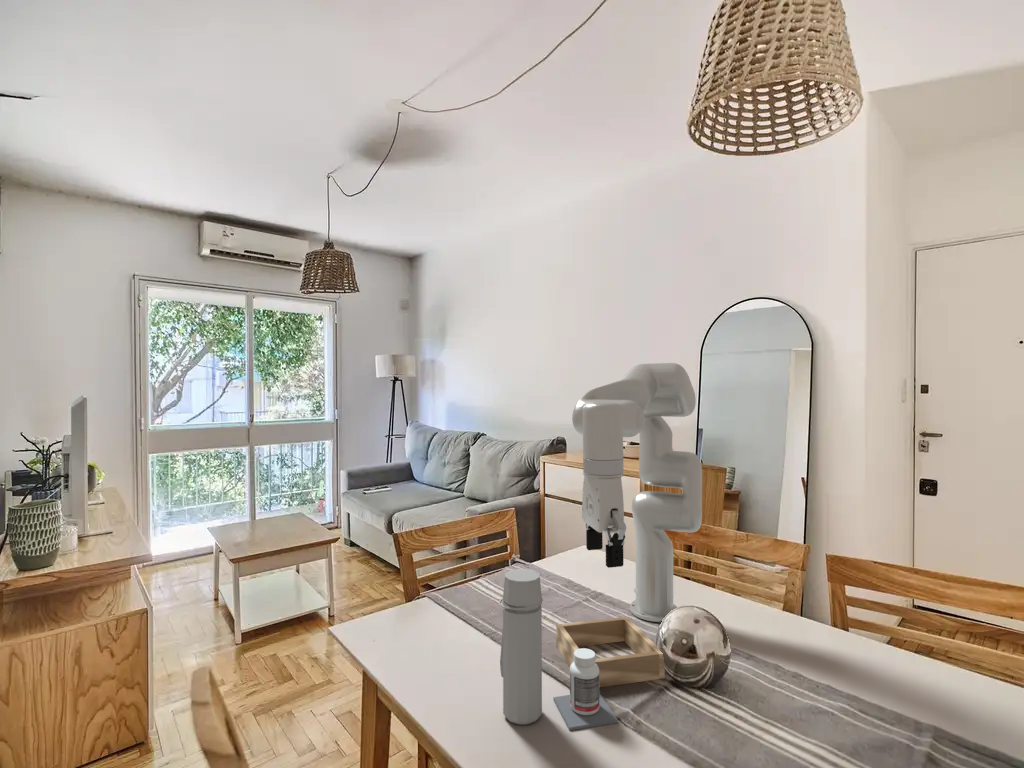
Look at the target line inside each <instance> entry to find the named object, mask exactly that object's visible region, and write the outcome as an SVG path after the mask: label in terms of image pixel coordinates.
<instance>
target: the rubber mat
mask: <svg viewBox="0 0 1024 768" xmlns="http://www.w3.org/2000/svg"><path fill="white" fill-rule="evenodd" d="M599 697H600V698H599V699H600V701H599V702H600V703H599V710H598V711H597V712H596V713H595V714H592V715H581V714H578V713H576V712H574V711H573V710H572V709H571V706H570V694H567V695H559V696H553V702H554V704H555V706H556V708H557V710H558V712H559V713H560V715H561V717H562V719H563V721H564V723H565V725H566V727H567V729H568V731H574V730H580V729H587V728H593V727H600V726H606V725H611V724H618V723H619V720H618V718H617V717H616V715H615V713H614V712H613V711H612V709H611V708H610V706H609V704H607V701H606V700H605V699H604V697H603V695H602V694H601V693H600V692H599Z"/></svg>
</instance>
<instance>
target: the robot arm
mask: <svg viewBox="0 0 1024 768" xmlns="http://www.w3.org/2000/svg"><path fill="white" fill-rule="evenodd" d="M696 401H697V400H696V394H695V390H694V387H693V385H692V382H691V379H690V376H689V374H688V371H686V369H685V368H684V367H683V366H682V365H681V364H678V363H676V362H665V363H664V362H660V363H656V362H655V363H640V364H637V365H635V366H633V367H631V368H630V369H629V370H628V371H627V372H626V373H625V374H624V376H623V377H621V379H620V380H616V381H613V382H610V383H608V384H605V385H601V386H598V387H595V388H593V389H590V390H588V391H586V393H584V394H583V395H582V396H581V397H580V398H579V399H578V400H577V402H576V404H575V405H574V407H573V410H572V417H571V419H572V426H573V428H574V430H575V431H576V432H577V433H578V434H580V435H582V458H583V459H582V466H583V467H582V468H583V469H582V474H583V476H584V477H583V483H582V500H581V501H582V504H581V505H582V506H581V507H582V508H581V519H582V521H583V522H584V523H585V529H586V530H585V533H586V535H585V536H586V538H585V539H586V546H585V547H586V550H587V551H597V550H603V532H604V535H605V539H606V543H607V544H605V567H607V568H609V569H611V568H620V567H623V566H624V545H625V539H626V530H627V525H626V523H625V507H624V505H625V504H624V493H623V483H622V477H624V438H632V437H635V436H637V435H638V434H639V446H638V447H639V448H638V449H639V451H638V475H639V479H640V481H641V482H642V483H643V484H644V485H647V486H652V487H662V488H673V489H680V490H681V491H682V493H677V492H676V493H675V492H667V491H655V490H646V491H645V490H644V491H640V492H638V493H636V494H635V495H634V496H633V498H632V501H631V514H632V518H633V524H634V525H633V526H634V535H635V587H634V589H633V592H634V593H635V600H633V601H632V602H631V603H630V604H629V605H630V606H629V611H630V612H631V614H633V616H635V617H637V618H639V619H641V620H644V621H648V622H652V623H653V622H654V623H662V622H661V621H662V619H663V618H664V617H665V616H666V615H667V614H668V613H669V612H670V611H671V610H673V609H675V608H677V607H678V606H677V605H676V604H674V546H673V543H672V541H671V539H670V537H669V536H668V534H667V533H666V531H671V532H680V533H689V534H690V533H696V532H698V531H699V529H700V528H701V526H702V521H703V520H702V519H703V468H702V467H703V466H702V462H701V460H700V457H699V456H698V455H697V454H696V453H693V452H690V451H680V450H679V451H676V450H674V449H673V431H672V428H671V427H670V426H669V424H668V422H667V421H666V420H665V419H664V418H663V417H675V418H677V417H678V418H679V417H680V418H681V417H682V418H685V417H689V416H690V415H691V414H693V413H694V412H695V407H696V404H697V402H696ZM612 534H613V535H612Z"/></svg>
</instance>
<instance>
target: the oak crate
mask: <svg viewBox="0 0 1024 768" xmlns="http://www.w3.org/2000/svg"><path fill="white" fill-rule="evenodd" d="M555 626H556V627H555V628H556V629H555V630H556V633H555V634H556V637H555V639H556V641H555V642H556V643H555V645H556V646H555V647H556V648H557V650H558V652H559V653H560V655H561V656H562V658H563V660H564V661H565V663H566V664H567V666H568V667H569V668H570V666H571V664H572V663H573V662H574V659H573V658H574V651H575V650H577V649H580V648H581V647H584V646H585V647H587V646H595V645H603V644H612V643H619V642H621V643H622V642H624V643H625V644H626V645H627V646H628V647H630V649H631V650H632V651H633V652H634V653H633V654H632V653H630V654H624V655H623V654H622V655H615V656H608V657H600V658H596V661H595V664H597V666H598V667H599V688H605V687H612V686H618V685H627V684H634V683H639V682H646V681H647V682H648V681H655V680H664V679H666V675H665V674H666V673H665V669H666V666H665V665H666V663H664V657H663V653H662V652H661V651H660V650H659V649H658V648H659V647H658V645H656V644H655V642H654V641H652V640H651V639H650V638H649V637H648V635H647V634H646V633H644V632H643V631H642V630H641V629H640V628H639V627H638V626H637V625H636V624H635V623H634V622H633V621H631V619H630V618H629V617H627V616H621V617H613V618H605V619H603V618H602V619H595V620H594V619H593V620H586V621H585V620H584V621H575V622H568V623H557V624H555Z"/></svg>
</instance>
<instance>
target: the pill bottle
mask: <svg viewBox="0 0 1024 768" xmlns="http://www.w3.org/2000/svg"><path fill="white" fill-rule="evenodd" d="M596 656H597V655H596V653H595V651H593V650H592V649H590V648H584V647H583V648H581V647H580V648H579V649H577V650H575V651H574V658H573V659H574V662H573V663H572V664H571V666H570V667H569V695H570V706H571V709H572V710H573V711H574V712H576V713H578V714H581V715H592V714H595V713H596V712H597V711H598V710H599V703H600V702H599V701H600V699H599V698H600V697H599V693H600V687H599V667H598V666H597V664H595V661H596V659H597V657H596Z"/></svg>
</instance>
